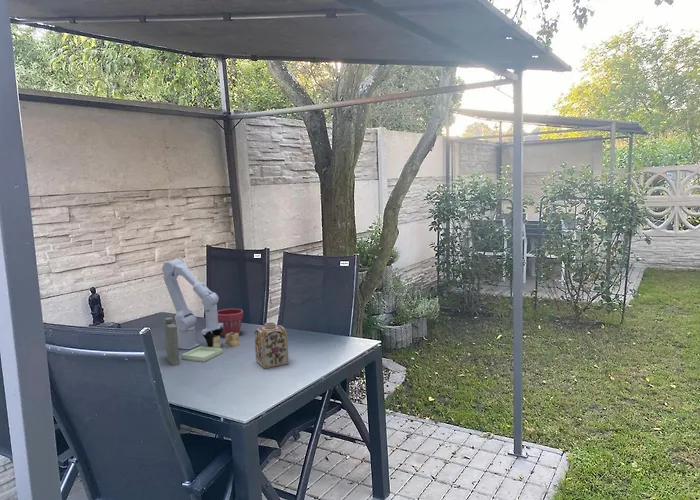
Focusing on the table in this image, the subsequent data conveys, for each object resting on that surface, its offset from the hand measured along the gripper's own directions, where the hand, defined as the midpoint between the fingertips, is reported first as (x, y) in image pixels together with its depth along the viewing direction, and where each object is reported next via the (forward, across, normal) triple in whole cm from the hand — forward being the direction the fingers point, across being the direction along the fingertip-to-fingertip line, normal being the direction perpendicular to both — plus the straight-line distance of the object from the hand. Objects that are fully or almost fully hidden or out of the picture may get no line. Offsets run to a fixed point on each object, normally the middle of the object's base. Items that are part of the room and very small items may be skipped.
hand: (213, 345), depth 254 cm
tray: (+2, -12, -2) cm, 12 cm away
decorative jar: (+2, -10, -40) cm, 41 cm away
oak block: (+2, +6, -6) cm, 9 cm away
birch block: (+2, 0, 0) cm, 2 cm away
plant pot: (+2, +22, +6) cm, 23 cm away
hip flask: (+2, -21, +7) cm, 22 cm away
